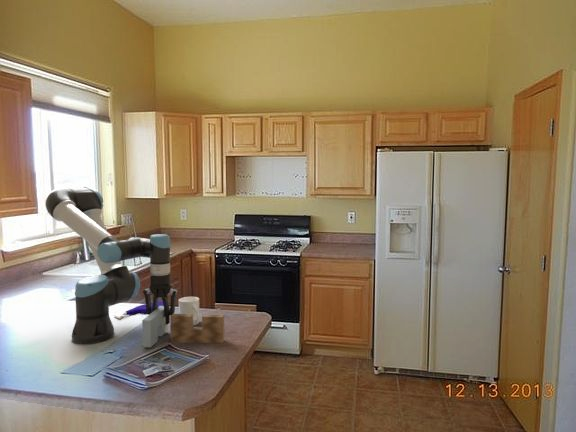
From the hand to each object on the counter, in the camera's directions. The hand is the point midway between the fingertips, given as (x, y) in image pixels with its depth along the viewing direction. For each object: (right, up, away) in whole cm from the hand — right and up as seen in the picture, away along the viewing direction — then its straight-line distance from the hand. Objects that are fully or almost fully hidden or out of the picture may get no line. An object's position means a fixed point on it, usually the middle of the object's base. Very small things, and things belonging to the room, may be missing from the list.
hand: (160, 331), depth 166 cm
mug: (+9, -1, +13) cm, 16 cm away
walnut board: (+16, -2, -6) cm, 17 cm away
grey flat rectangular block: (0, -1, -5) cm, 6 cm away
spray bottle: (-18, 0, +30) cm, 35 cm away
